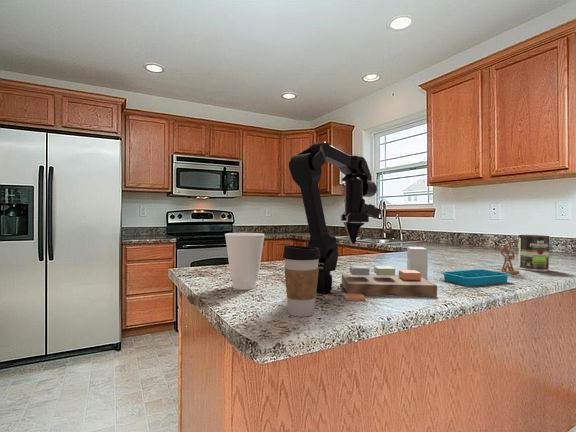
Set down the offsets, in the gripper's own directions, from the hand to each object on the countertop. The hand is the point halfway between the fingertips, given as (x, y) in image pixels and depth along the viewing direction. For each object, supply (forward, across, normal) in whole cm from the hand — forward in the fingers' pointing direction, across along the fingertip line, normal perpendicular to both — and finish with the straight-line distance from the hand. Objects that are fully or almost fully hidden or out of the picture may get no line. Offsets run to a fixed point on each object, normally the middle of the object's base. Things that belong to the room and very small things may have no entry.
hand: (353, 243), depth 109 cm
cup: (+13, -10, +34) cm, 38 cm away
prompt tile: (+12, -21, +3) cm, 25 cm away
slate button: (+8, -8, -1) cm, 12 cm away
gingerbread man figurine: (+13, +21, -62) cm, 67 cm away
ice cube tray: (+13, +5, -42) cm, 44 cm away
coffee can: (+13, +32, -79) cm, 86 cm away
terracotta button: (+9, -8, -16) cm, 20 cm away
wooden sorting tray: (+12, -10, -8) cm, 18 cm away
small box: (+13, +10, -24) cm, 29 cm away
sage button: (+8, -8, -8) cm, 14 cm away
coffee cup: (+13, -35, +17) cm, 41 cm away
